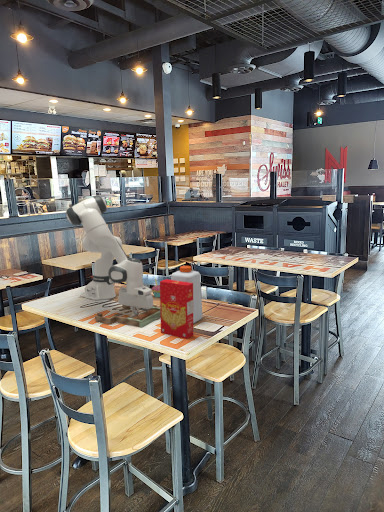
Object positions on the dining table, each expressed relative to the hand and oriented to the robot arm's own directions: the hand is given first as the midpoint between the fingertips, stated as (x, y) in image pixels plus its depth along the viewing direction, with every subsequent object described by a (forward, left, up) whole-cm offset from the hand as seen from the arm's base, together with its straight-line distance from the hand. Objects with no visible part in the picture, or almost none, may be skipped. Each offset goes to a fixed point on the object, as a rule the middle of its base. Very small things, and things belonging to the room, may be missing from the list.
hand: (135, 314), depth 203 cm
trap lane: (-2, 0, -2) cm, 3 cm away
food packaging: (+31, -11, -2) cm, 33 cm away
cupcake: (-11, +39, -2) cm, 41 cm away
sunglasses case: (+5, -1, -2) cm, 6 cm away
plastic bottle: (+25, +9, -2) cm, 27 cm away
